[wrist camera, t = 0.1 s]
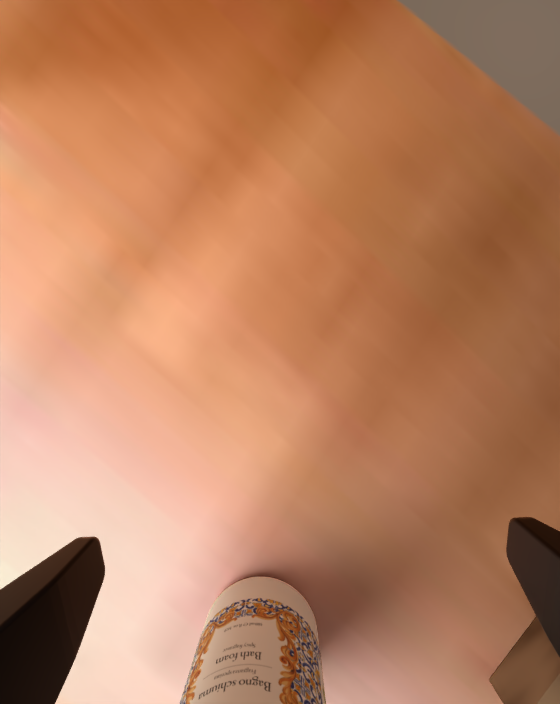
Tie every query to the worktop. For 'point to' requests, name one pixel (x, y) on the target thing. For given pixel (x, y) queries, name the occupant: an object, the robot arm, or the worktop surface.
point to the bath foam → (257, 648)
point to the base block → (529, 670)
